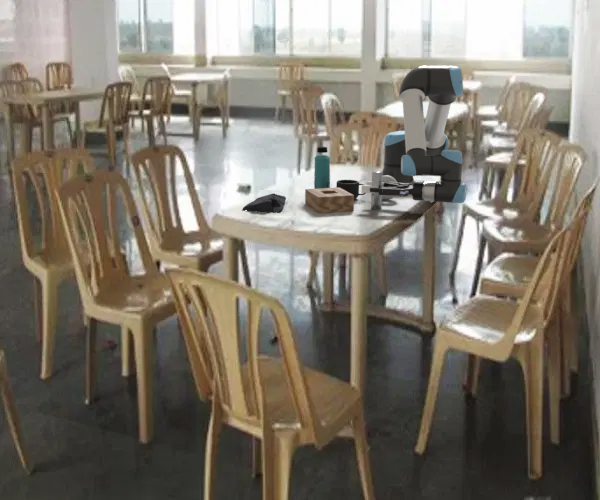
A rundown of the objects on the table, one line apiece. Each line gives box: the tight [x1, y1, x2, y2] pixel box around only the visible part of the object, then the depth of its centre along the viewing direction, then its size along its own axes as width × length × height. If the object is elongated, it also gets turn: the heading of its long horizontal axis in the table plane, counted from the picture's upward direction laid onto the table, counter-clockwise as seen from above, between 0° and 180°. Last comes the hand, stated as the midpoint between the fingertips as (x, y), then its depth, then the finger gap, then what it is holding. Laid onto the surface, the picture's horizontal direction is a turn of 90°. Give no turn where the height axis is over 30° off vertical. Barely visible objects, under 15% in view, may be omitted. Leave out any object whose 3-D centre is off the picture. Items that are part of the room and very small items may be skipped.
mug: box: [335, 179, 367, 200], centre depth 337 cm, size 12×9×7 cm
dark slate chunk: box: [241, 193, 287, 214], centre depth 323 cm, size 15×22×5 cm
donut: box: [382, 175, 397, 201], centre depth 336 cm, size 10×4×10 cm, turn 67°
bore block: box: [304, 187, 355, 214], centre depth 321 cm, size 14×16×6 cm
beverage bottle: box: [313, 146, 331, 189], centre depth 342 cm, size 6×7×20 cm
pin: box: [370, 170, 383, 210], centre depth 320 cm, size 4×4×14 cm
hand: (364, 186), depth 321 cm, fingers open, 8 cm apart
